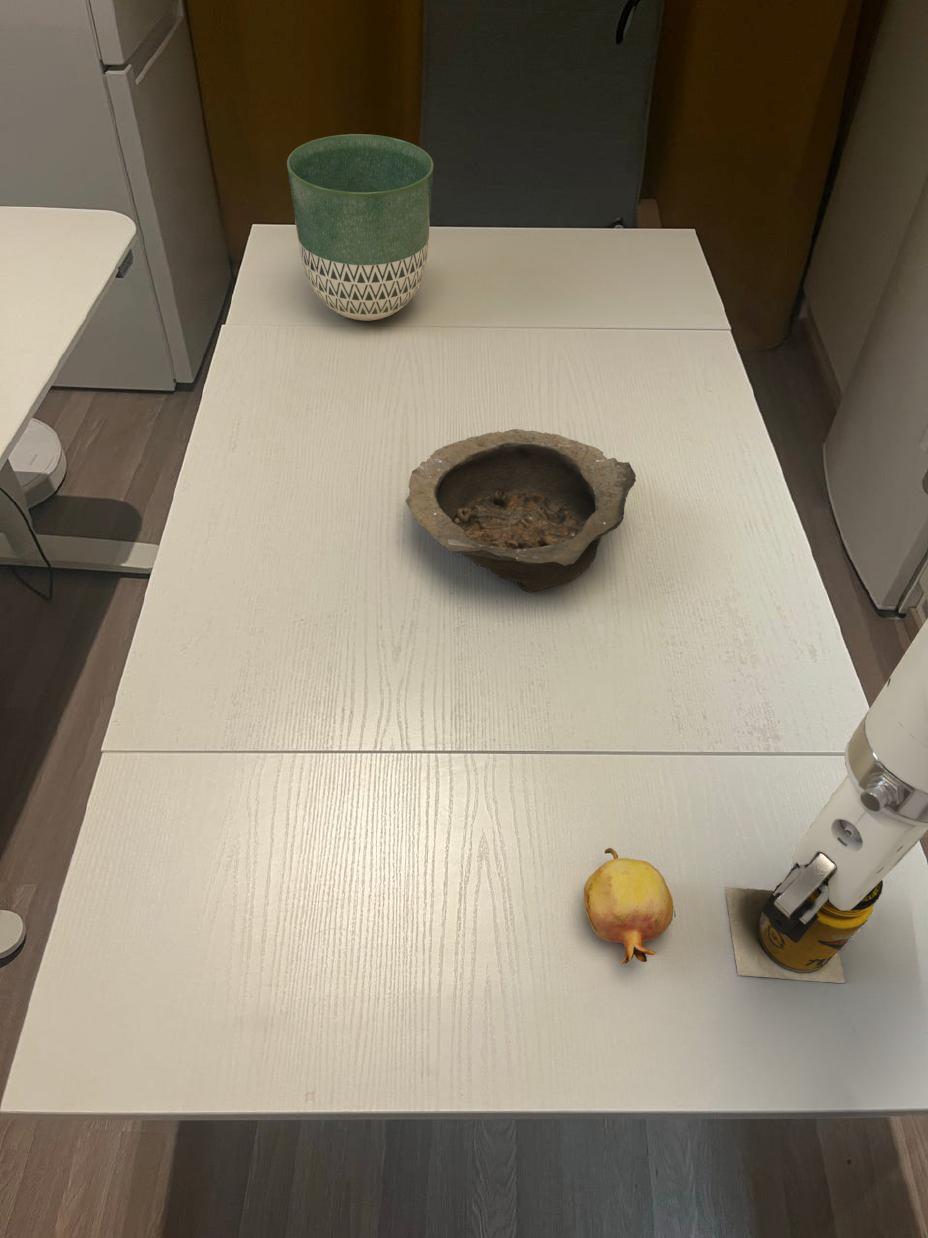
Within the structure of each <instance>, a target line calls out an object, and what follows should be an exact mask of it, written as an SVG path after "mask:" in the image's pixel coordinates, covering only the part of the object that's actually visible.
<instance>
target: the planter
mask: <svg viewBox="0 0 928 1238" xmlns="http://www.w3.org/2000/svg"><path fill="white" fill-rule="evenodd" d="M286 166H287V175H288V176H287V177H288V184H289V190H290V197H291V201H292V208H293V215H294V223H295V229H296V235H297V241H298V247H299V248H298V249H299V254H300V259H301V264H302V268H303V270H304V273H305V277H306V278H307V281H308V283H309V285H310V288H311V289H312V291H313V292H314V294H315V295H316V296H317V298H318V299H319V300H320V301H321V302H322V303H323V304H324V305H326V307H328V308H329V309H331V310H332V311H334V312H335V313H337V314H339V315H340V316H341V317H345V318H347V319H351V320H355V321H364V322H365V321H366V322H369V321H371V322H372V321H377V320H382V319H386V318H388V317H390V316H392V315H394V314H396V313H397V312H399V311H400V310H402V308H404V307H405V306H406V305H407V304H408V303H409V302H410V301H412V298H414V296H415V295H416V293H417V292H418V290H419V288H420V286H421V283H422V280H423V277H424V274H425V271H426V267H427V259H428V250H429V239H430V226H431V214H432V213H431V211H432V198H433V197H432V196H433V187H434V161H433V158H432V157H431V156H430V154H429V153H428V152H427V151H425V149H423V148H422V147H420V146H418V145H415V144H414V143H411V142H408V141H406V140H403V139H399V138H395V137H391V136H385V135H377V134H368V133H367V134H366V133H365V134H364V133H349V134H337V135H330V136H325V137H320V138H316V139H314V140H310V141H308V142H305V143H304V144H301V145H300V146H298V147H296V148H295V149H294V150H293V151H292V152H291V153H290V154H289V155H288V157H287V160H286Z"/></svg>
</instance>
